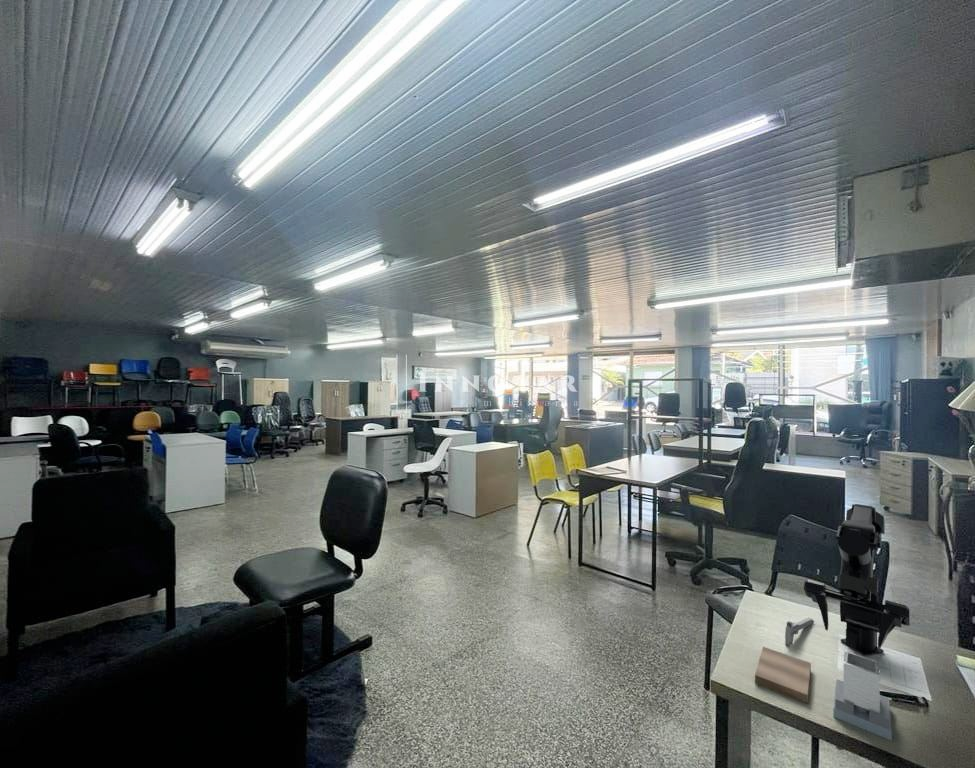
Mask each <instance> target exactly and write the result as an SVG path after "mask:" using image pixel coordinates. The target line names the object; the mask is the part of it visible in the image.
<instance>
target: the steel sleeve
mask: <svg viewBox="0 0 975 768" xmlns="http://www.w3.org/2000/svg"><path fill="white" fill-rule="evenodd" d="M880 679H881V678H880V661H878V660H875V659H872V658H868V657H867V656H864V655H863V656H862V655H860V654H856V653H853V652H850V651H846V650H844V653H843V682H844V701H847V702H849V703H852V704H854V705H857V706H860V707H862V708H865V709H867V710H870V711H873V712H875V713H878V714H880V695H881V693H880V690H881V689H880V688H881V687H880V686H881V685H880Z"/></svg>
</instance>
